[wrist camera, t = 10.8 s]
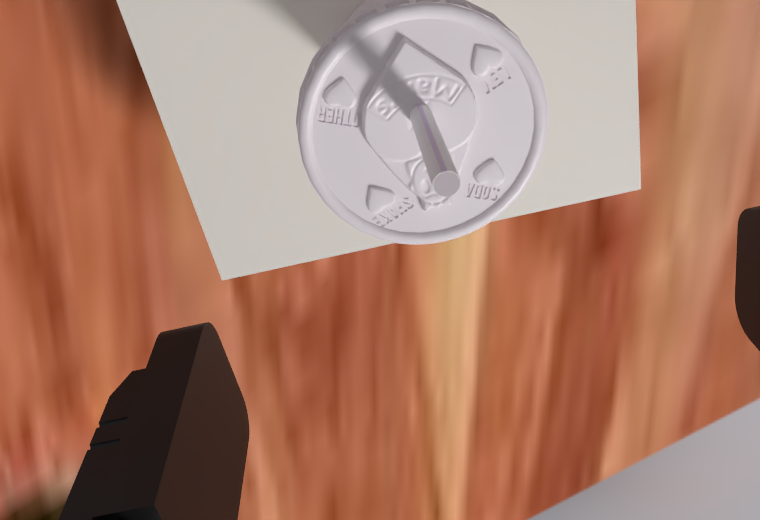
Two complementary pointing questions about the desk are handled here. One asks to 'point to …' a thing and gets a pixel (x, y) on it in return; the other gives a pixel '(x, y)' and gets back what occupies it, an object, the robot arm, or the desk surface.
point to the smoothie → (421, 119)
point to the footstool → (280, 101)
